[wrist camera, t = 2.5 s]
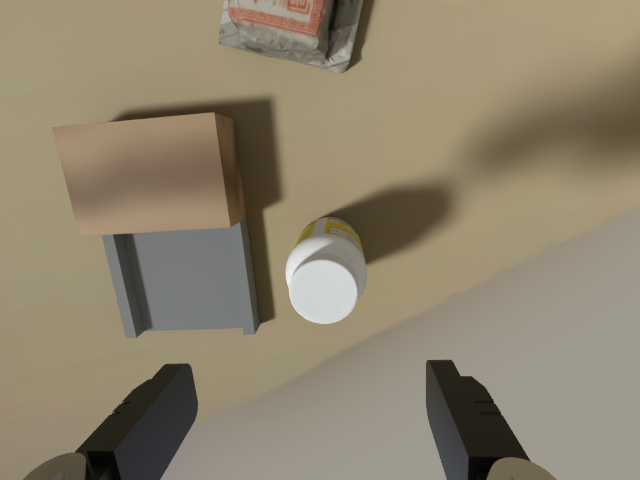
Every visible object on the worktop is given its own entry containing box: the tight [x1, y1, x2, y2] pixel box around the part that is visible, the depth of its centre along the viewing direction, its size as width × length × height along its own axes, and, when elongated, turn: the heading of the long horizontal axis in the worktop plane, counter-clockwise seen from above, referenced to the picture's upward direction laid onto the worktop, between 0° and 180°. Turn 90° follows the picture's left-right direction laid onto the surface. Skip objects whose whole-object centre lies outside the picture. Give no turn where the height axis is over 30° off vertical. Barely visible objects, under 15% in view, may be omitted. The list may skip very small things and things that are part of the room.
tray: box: [102, 218, 260, 338], centre depth 29 cm, size 10×12×2 cm
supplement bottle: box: [286, 217, 367, 324], centre depth 23 cm, size 5×5×10 cm
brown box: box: [52, 112, 246, 236], centre depth 26 cm, size 8×12×4 cm, turn 94°
